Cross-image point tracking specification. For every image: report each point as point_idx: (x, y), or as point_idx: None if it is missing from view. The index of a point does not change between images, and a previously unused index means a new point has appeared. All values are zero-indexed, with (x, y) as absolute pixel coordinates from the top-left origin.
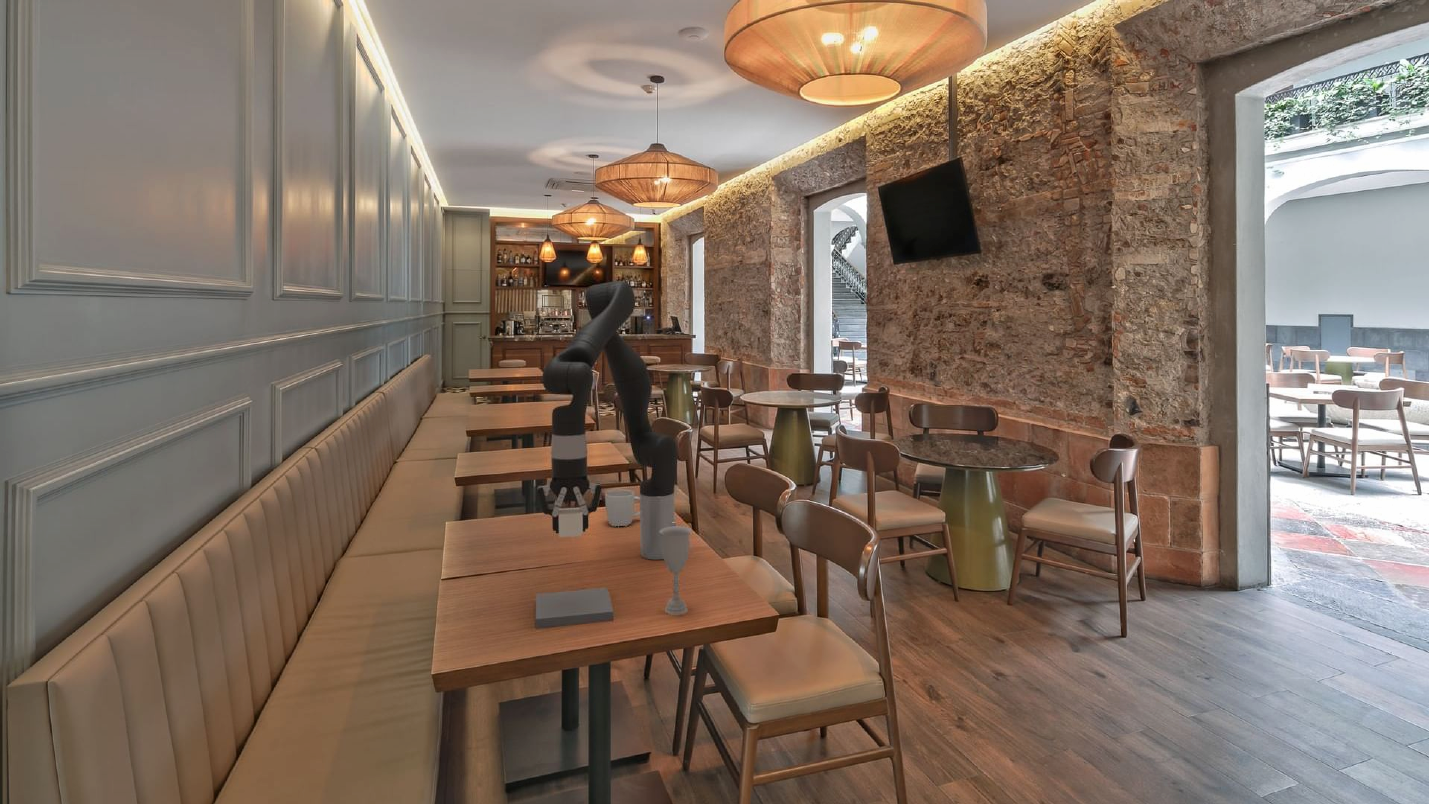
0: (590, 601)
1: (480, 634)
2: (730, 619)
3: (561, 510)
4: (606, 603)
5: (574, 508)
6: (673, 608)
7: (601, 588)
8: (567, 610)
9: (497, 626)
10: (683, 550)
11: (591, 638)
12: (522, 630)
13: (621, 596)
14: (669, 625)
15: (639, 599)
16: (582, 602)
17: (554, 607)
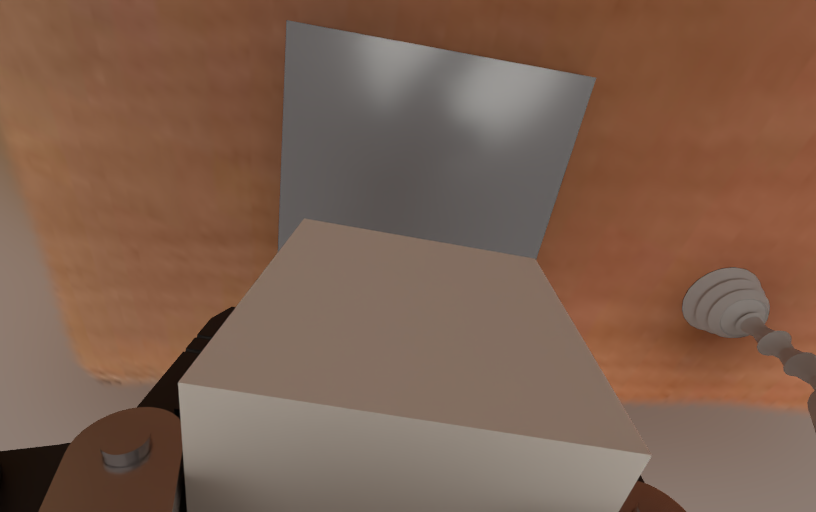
0: (480, 198)
1: (126, 226)
2: (803, 404)
3: (241, 501)
4: (525, 239)
5: (499, 466)
6: (707, 329)
7: (569, 78)
8: None
9: (169, 190)
10: None
11: None
12: (247, 248)
13: (630, 105)
14: (639, 374)
15: (673, 165)
16: (449, 196)
17: (345, 198)
